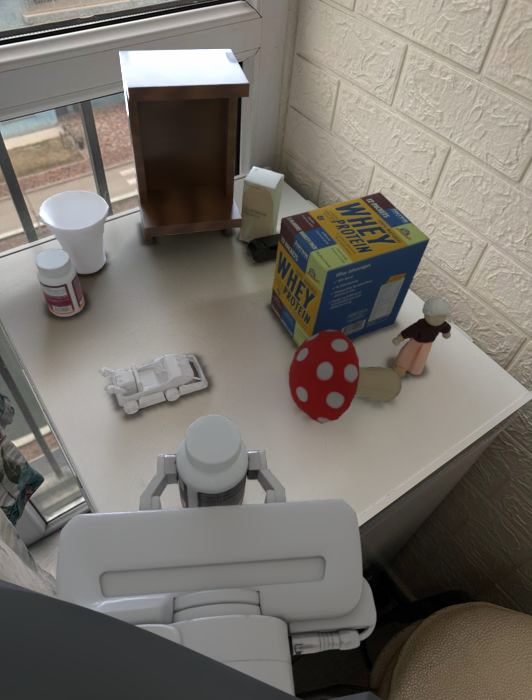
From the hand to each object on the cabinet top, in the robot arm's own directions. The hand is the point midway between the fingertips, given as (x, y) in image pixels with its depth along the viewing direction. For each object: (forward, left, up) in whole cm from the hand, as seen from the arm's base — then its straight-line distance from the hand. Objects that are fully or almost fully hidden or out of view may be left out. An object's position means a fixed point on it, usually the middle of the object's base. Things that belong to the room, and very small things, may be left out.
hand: (211, 455), depth 39 cm
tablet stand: (+23, +41, -16) cm, 50 cm away
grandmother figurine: (+30, +15, -16) cm, 37 cm away
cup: (-10, +43, -16) cm, 47 cm away
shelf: (+6, +46, -16) cm, 49 cm away
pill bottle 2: (0, -1, -6) cm, 6 cm away
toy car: (-3, +19, -16) cm, 25 cm away
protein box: (+23, +26, -16) cm, 38 cm away
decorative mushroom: (+19, +13, -16) cm, 28 cm away
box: (+17, +45, -16) cm, 51 cm away
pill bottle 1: (-13, +35, -16) cm, 41 cm away
